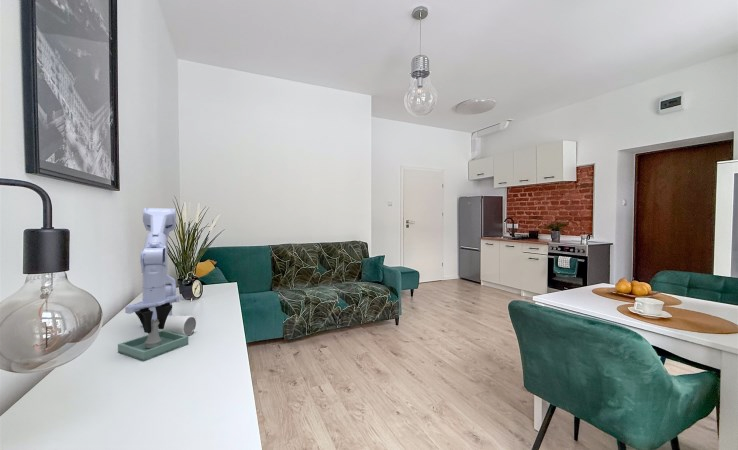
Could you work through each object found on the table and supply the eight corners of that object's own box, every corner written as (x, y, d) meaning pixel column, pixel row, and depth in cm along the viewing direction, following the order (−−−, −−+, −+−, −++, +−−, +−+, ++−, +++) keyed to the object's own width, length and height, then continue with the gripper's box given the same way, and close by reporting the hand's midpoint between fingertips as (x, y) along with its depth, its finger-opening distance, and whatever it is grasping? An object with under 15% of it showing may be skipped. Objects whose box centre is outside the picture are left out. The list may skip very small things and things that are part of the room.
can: (183, 319, 101) (150, 318, 102) (183, 338, 101) (150, 337, 102) (196, 313, 107) (165, 313, 108) (196, 331, 107) (165, 330, 108)
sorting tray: (117, 352, 90) (117, 344, 90) (163, 337, 102) (163, 330, 102) (143, 361, 84) (143, 352, 84) (188, 344, 96) (188, 336, 96)
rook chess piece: (152, 349, 90) (152, 323, 90) (140, 348, 91) (140, 321, 91) (165, 344, 95) (165, 318, 95) (153, 342, 96) (154, 317, 96)
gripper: (135, 292, 85) (135, 341, 85) (185, 283, 98) (185, 325, 98) (121, 290, 88) (121, 336, 88) (171, 281, 101) (171, 321, 101)
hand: (154, 330), depth 93 cm, fingers closed on rook chess piece, 3 cm apart
